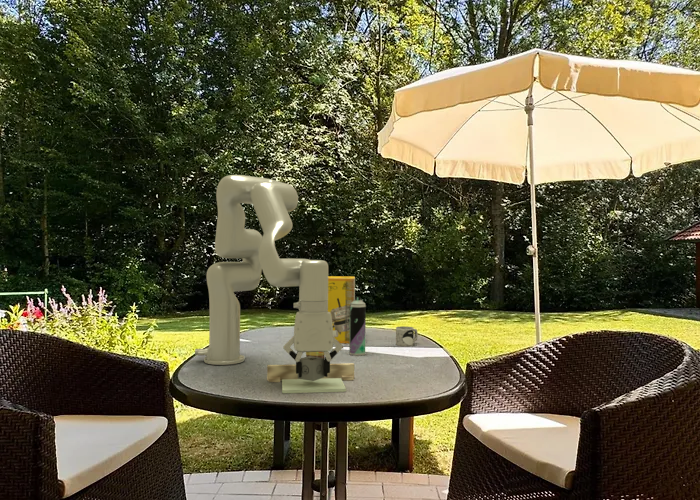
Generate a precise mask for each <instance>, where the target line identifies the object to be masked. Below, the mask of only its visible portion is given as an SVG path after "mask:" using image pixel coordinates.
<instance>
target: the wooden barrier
mask: <svg viewBox="0 0 700 500" xmlns="http://www.w3.org/2000/svg"><path fill="white" fill-rule="evenodd" d="M266 370H267V371H266V381H268V383H280V382H281V381H282V379H298V374H296V363H295V364H267V367H266ZM325 378H341V379H342V381H343V382H345V381H354V379H355V363H354V362H351V363H350V362H346V363H330V373H327V377H325V376H324V378H321V379H325Z"/></svg>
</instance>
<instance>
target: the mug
mask: <svg viewBox="0 0 700 500" xmlns="http://www.w3.org/2000/svg"><path fill="white" fill-rule="evenodd" d="M418 336H419V335H418V330H417V328H414V327H412V326H397V327H395V346H397V347H405V348H406V347H407V348H408V347H413V346H414V343H415V342H416V341H418Z"/></svg>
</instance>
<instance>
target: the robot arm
mask: <svg viewBox="0 0 700 500" xmlns="http://www.w3.org/2000/svg"><path fill="white" fill-rule="evenodd" d="M298 195H299V194H298V192H297V190H296V189H295V187H294V186H293V185H291V184H289V183H286V182H281V181H279V180H276V179H271V178H266V177H258V176H250V175H242V174H231V175H230V174H229V175H226V176H223V177H222V178H221V179H220V181H219V182H218V185H217V187H216V197H215V198H216V205H217V222H216V232H215V240H214V242H215V243H214V251H215V253H216V254H217V256H218V257H220V258H225V259H242V261H220V262H219V261H218V262H216V263H213V264H212V265H210V266H209V267H208V269H207V272H206V285H207V289H208V298H209V326H208V327H209V334H208V335H209V337H208V339H209V340H208V341H209V346H207V347H205V348H195V349H194V355H195V356H198V357H199V356H205V357H204V359H203V362H204V363H205V364H209V365H214V366H228V365H236V364H240V363H243V362H244V361H245V360H246V359H245V358H246V357H245V355H242V354H240V353H241V351H240V350H241V303H240V301H239V300H238V297H236V294H235V292H247V291H253V290H255V289H256V288H258V287H259V284H260V282H261V278H262V273H263V275H264V277H265V279H266V281H267V283H268V284H270V285H271V286H273V287H275V288H284V287H286V288H287V287H288V288H289V287H299V290H298V292H299V293H298V295H299V297H298V298H299V299H298V301H297V302H293V309H298V311H297V312H296V314H295V317H294V325H293V326H294V327H293V336H292V337H291V338H290V339H288V341H286V343H284V345H283V350H284V351H285V352H286V353H287V355H289V356H290V357H291V359H293V360H294V361H295V364H296V374H298V373H299V377H302V363H301V362H299V361H300V359H301V358H302V356H303V355H304V354H303V353H306V352H324V354H325V355H324V358H325V361H324V376H325V377H327V373H330V364H331V361H332V360H333V358H334V357H336V356H337V354H338V353H339V352H340V351H342V350H343V345H342V343H339V342H338V341H337V340H336V339H335V338H334V337H333V325H332V317H331V313H330V312H328V276H329V264H328V262H327V261H326V260H322V259H308V258H295V257H294V258H280V257H279V254H278V251H277V249H276V244H275V243H276V242H275V241H278V240H280V239H282V238H283V237H285V236H287V235H288V234H289V233H290V232H291V231H292V229H293V222H292V219H291V216H290V214H289V213H290V212H293V211H294V210H295V209H296V208H297V206H298V203H299V196H298ZM242 204H246V205H252V207H253V208H254V211H255V214H256V216H257V218H258V221H259V224H260V227H261V230H262V232H263V235H262V234H261V233H260V232H259V231H258V230H256V229H251V228H250V229H249V228H245V224H246V213H245V211H244V209H243V206H242ZM291 346H293V349H294V350H295V351H296V352H295V351H294V350H293V349H292V348H291ZM334 346H335V347H334ZM333 347H334V348H333Z"/></svg>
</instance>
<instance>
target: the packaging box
mask: <svg viewBox="0 0 700 500" xmlns="http://www.w3.org/2000/svg"><path fill="white" fill-rule="evenodd" d="M355 285H356V277H355V276H350V275H349V276H346V275H345V276H342V275H341V276H336V275H335V276H334V275H331V276H329V275H328V312H330V313H331V317H332V325H333V337H334V338H335V339H336V340H337V341H338V342H339V343H340V344H349V343H350V303H351V302H353V301H354V300H355V296H356V294H355V293H356V286H355Z"/></svg>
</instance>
